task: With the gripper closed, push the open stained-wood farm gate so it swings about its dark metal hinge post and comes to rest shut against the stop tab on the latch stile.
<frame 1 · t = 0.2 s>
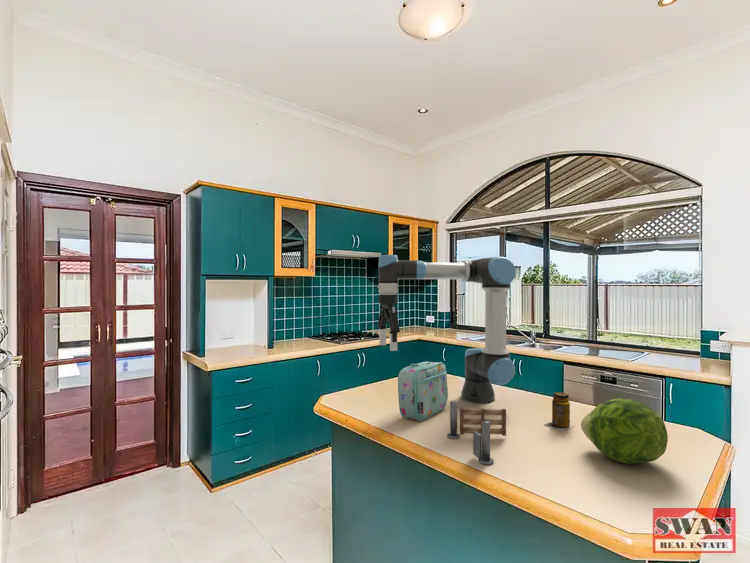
hand: (388, 347, 156), 28 cm above the counter, fingers open, 13 cm apart
latch stile: (485, 461, 118), on the counter
lunch box: (424, 414, 161), on the counter
hinge post: (453, 436, 137), on the counter
gate: (482, 421, 137), point 5 cm above the counter, hinge at 70.0°
lettuce: (619, 459, 120), on the counter
condiment: (559, 426, 148), on the counter
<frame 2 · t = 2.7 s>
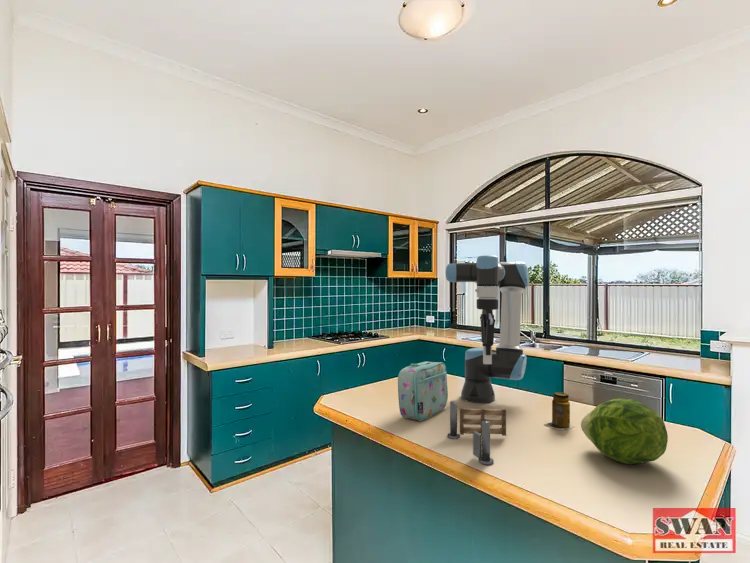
hand: (487, 363, 143), 24 cm above the counter, fingers closed
nothing on the counter moved.
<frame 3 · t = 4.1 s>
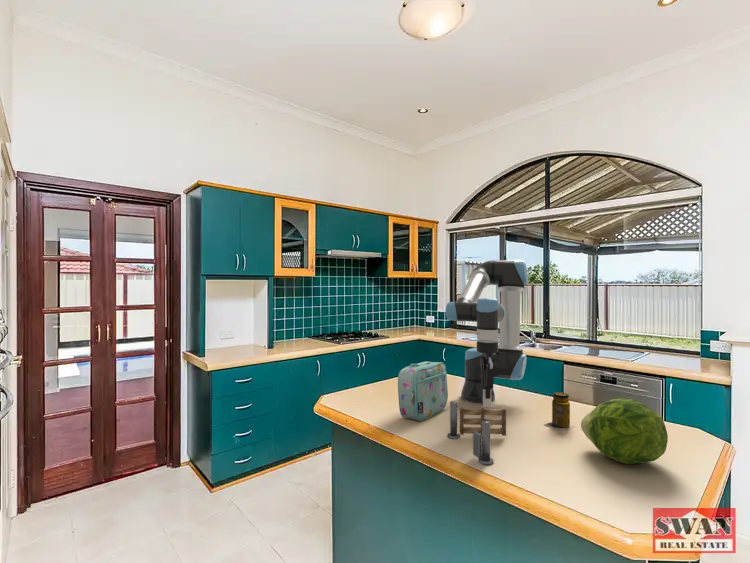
hand: (487, 406, 142), 9 cm above the counter, fingers closed
nothing on the counter moved.
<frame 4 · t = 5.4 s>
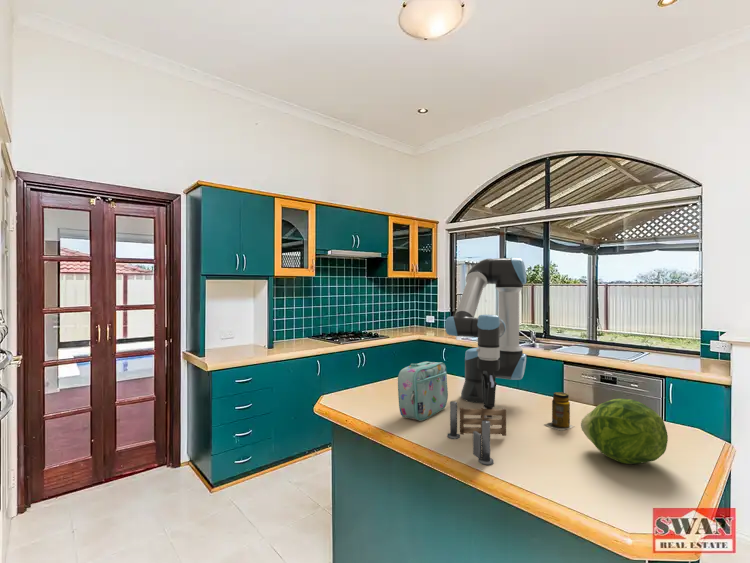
hand: (488, 424, 140), 3 cm above the counter, fingers closed
gate: (482, 421, 137), point 5 cm above the counter, hinge at 69.9°, touching gripper
everything else where it was.
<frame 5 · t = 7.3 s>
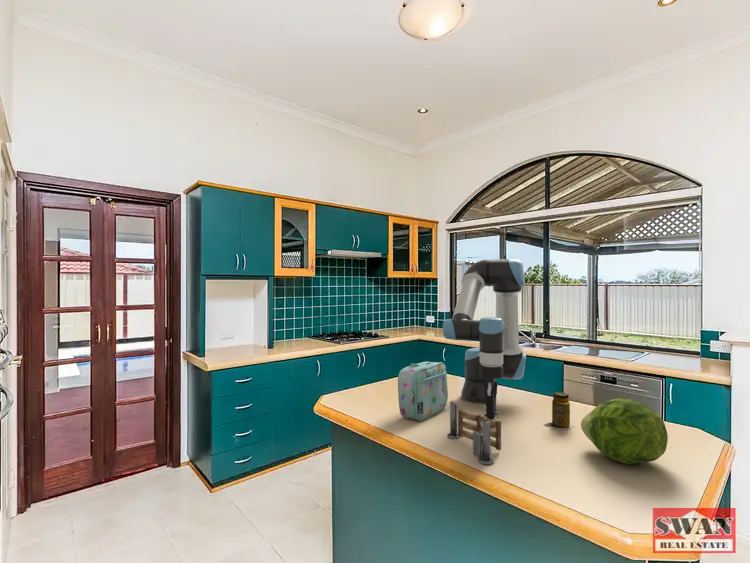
hand: (491, 435, 131), 3 cm above the counter, fingers closed
gate: (478, 428, 130), point 5 cm above the counter, hinge at 25.2°, touching gripper
everything else where it was.
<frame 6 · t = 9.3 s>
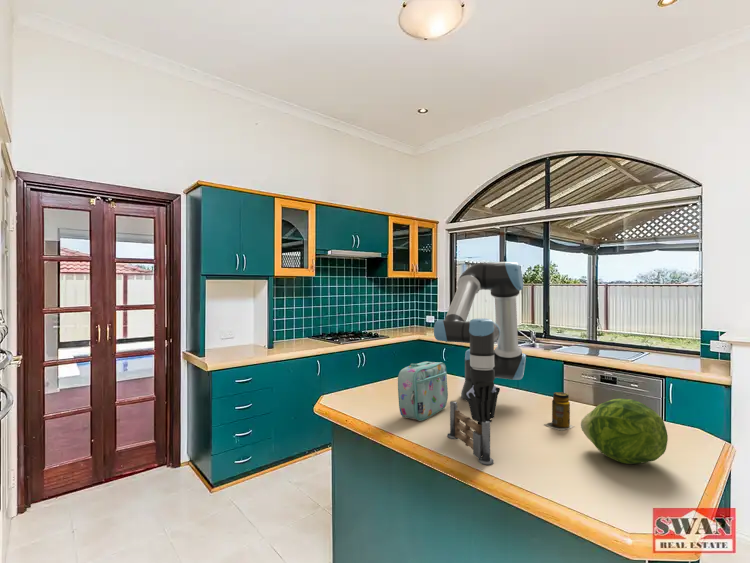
hand: (483, 441, 126), 3 cm above the counter, fingers closed
gate: (467, 431, 128), point 5 cm above the counter, hinge at -1.6°, touching gripper
everything else where it was.
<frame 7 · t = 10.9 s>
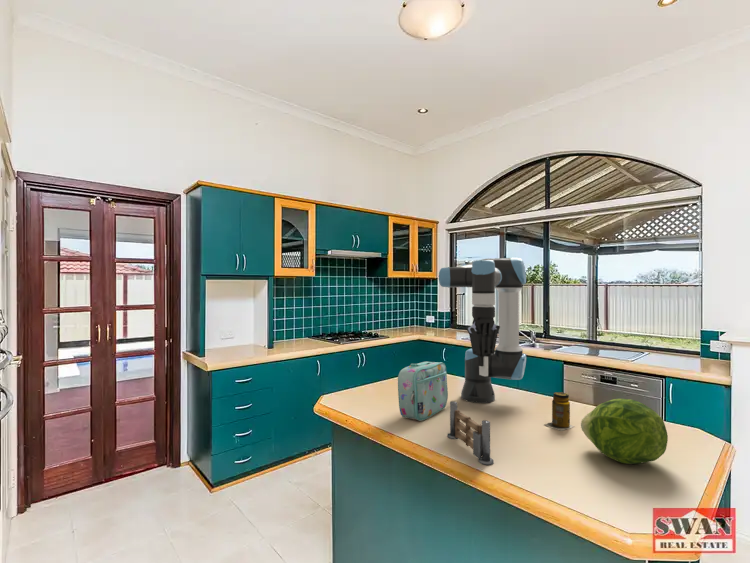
hand: (483, 375, 134), 22 cm above the counter, fingers closed
gate: (468, 431, 128), point 5 cm above the counter, hinge at -0.8°
everything else where it was.
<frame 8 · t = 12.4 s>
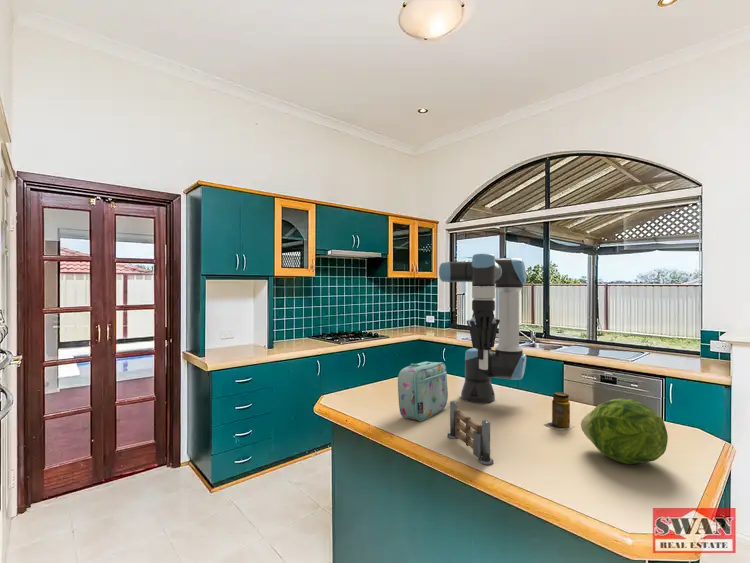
hand: (483, 368, 134), 24 cm above the counter, fingers closed
nothing on the counter moved.
at the end: gate at -1° (first picture: +70°); gate touching nothing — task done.
